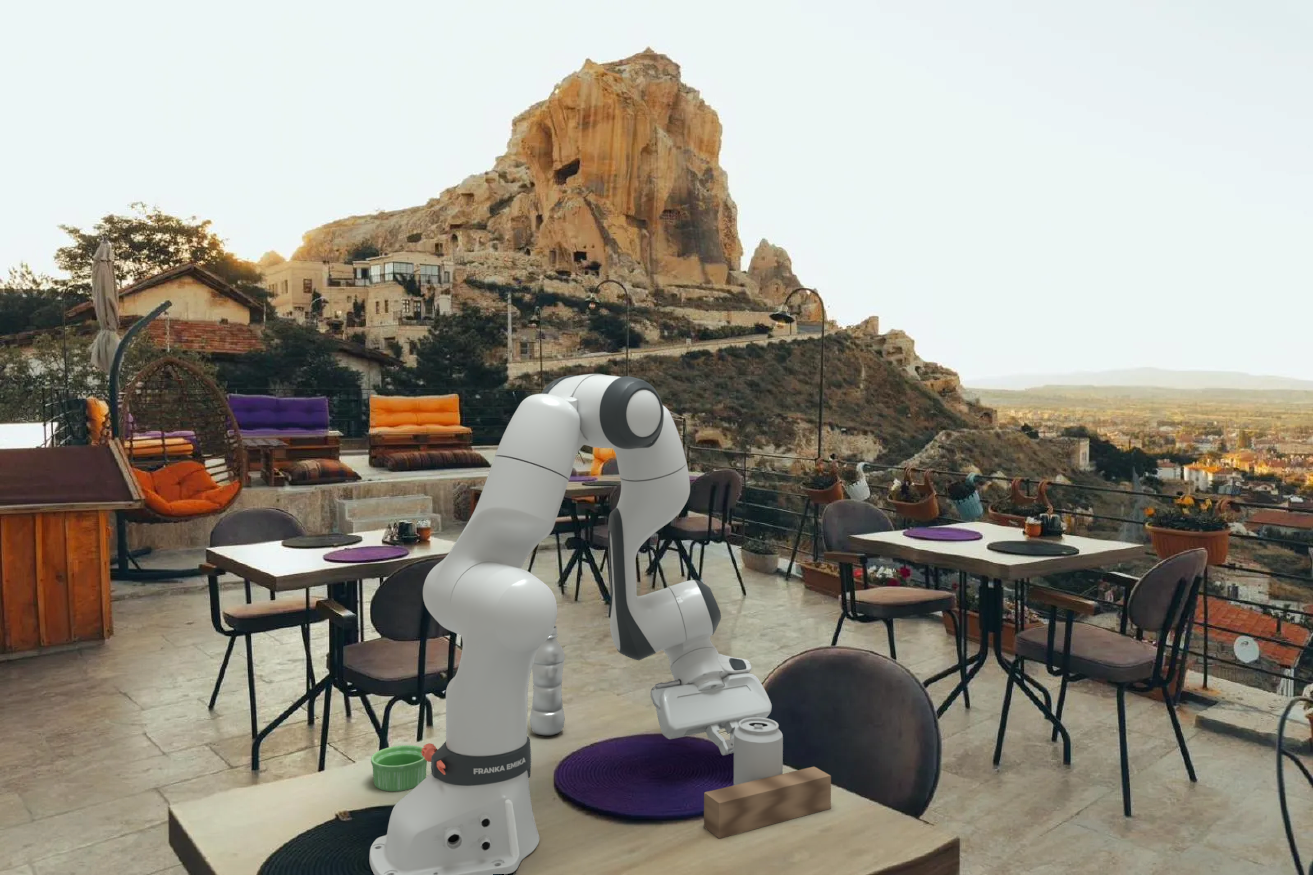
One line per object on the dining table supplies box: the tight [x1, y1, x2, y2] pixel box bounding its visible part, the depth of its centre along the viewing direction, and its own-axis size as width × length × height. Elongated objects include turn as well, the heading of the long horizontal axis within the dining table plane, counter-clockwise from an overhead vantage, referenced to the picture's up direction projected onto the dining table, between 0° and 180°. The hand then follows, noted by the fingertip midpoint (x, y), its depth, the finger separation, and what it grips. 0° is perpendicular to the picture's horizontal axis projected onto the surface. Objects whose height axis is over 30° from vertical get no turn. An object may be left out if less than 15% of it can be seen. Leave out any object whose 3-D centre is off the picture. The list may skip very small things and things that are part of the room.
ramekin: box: [370, 744, 428, 792], centre depth 141 cm, size 9×9×4 cm
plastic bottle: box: [529, 625, 566, 736], centre depth 162 cm, size 6×7×20 cm
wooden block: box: [703, 766, 832, 840], centre depth 128 cm, size 20×4×5 cm, turn 119°
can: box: [733, 717, 784, 786], centre depth 134 cm, size 8×8×12 cm
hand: (731, 752), depth 140 cm, fingers closed
